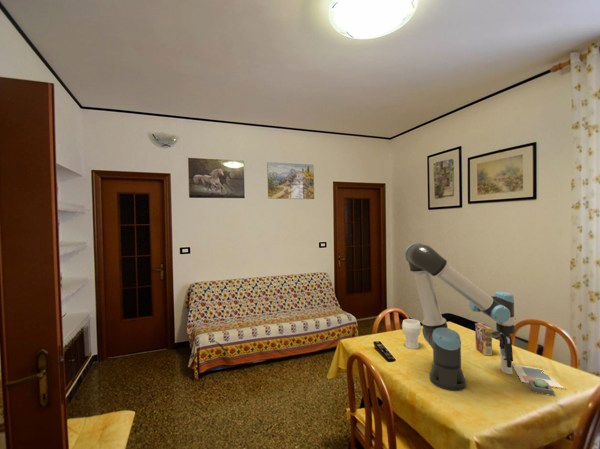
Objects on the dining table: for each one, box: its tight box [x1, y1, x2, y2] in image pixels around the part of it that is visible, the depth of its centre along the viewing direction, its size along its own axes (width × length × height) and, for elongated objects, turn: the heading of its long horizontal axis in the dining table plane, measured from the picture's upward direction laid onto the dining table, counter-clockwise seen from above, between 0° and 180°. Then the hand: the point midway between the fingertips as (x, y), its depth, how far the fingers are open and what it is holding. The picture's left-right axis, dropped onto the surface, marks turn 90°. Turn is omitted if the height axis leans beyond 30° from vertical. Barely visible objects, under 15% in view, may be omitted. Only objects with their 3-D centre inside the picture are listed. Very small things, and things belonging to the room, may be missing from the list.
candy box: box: [474, 322, 493, 356], centre depth 167 cm, size 9×4×15 cm, turn 2°
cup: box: [401, 318, 422, 350], centre depth 177 cm, size 11×11×15 cm
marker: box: [499, 348, 505, 373], centre depth 146 cm, size 4×4×10 cm
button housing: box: [528, 380, 555, 396], centre depth 129 cm, size 7×7×2 cm
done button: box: [535, 379, 547, 389], centre depth 129 cm, size 4×4×3 cm
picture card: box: [512, 363, 563, 389], centre depth 140 cm, size 16×18×1 cm
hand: (506, 368), depth 146 cm, fingers open, 10 cm apart
